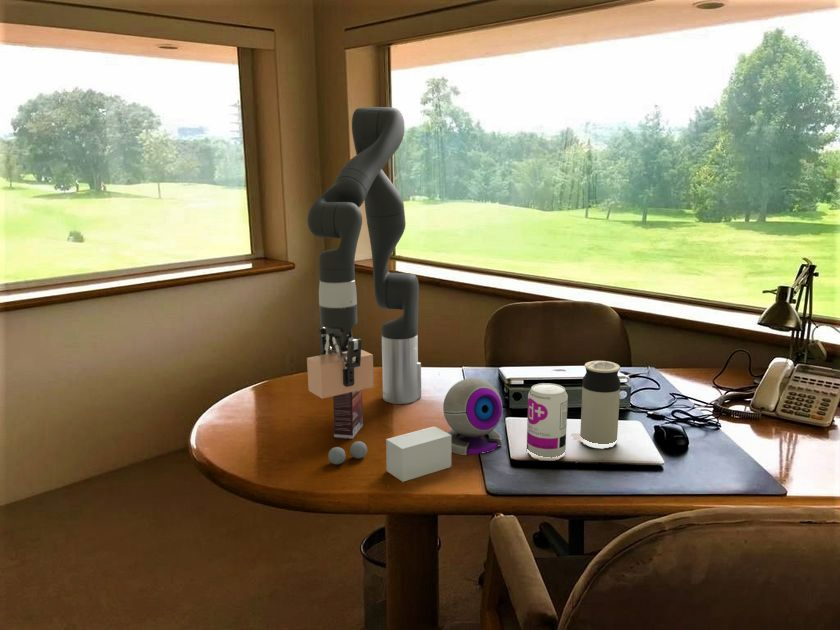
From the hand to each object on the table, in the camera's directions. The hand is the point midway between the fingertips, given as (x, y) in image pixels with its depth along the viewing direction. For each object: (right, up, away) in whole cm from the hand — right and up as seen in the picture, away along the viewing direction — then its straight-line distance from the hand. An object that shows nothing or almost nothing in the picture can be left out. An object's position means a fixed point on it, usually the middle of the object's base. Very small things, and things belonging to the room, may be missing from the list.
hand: (340, 381), depth 151 cm
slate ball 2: (+3, -17, +5) cm, 18 cm away
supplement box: (0, -14, +19) cm, 24 cm away
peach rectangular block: (0, -2, 0) cm, 2 cm away
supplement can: (+43, -17, +6) cm, 47 cm away
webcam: (+28, -15, +12) cm, 34 cm away
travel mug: (+56, -15, +12) cm, 59 cm away
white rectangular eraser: (+16, -18, 0) cm, 24 cm away
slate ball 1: (-1, -17, +2) cm, 18 cm away
